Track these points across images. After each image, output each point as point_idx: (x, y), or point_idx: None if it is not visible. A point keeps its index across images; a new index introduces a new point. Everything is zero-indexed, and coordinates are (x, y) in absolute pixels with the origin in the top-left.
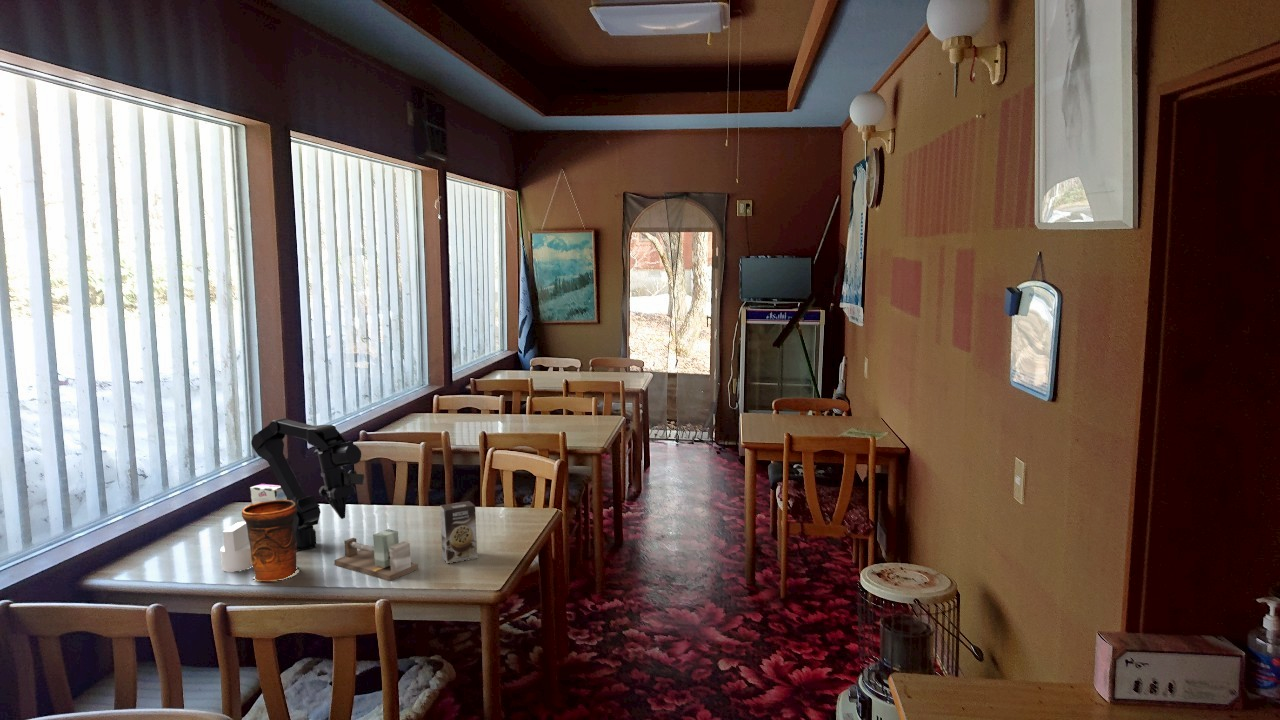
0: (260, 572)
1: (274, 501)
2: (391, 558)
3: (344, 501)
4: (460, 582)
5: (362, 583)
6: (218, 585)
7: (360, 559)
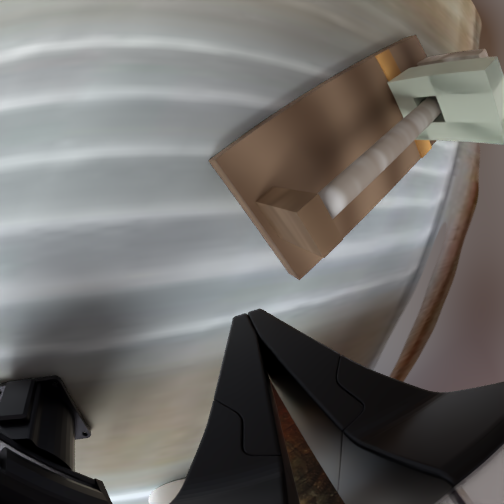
0: None
1: None
2: None
3: (410, 405)
4: (459, 20)
5: (433, 184)
6: None
7: (336, 176)
